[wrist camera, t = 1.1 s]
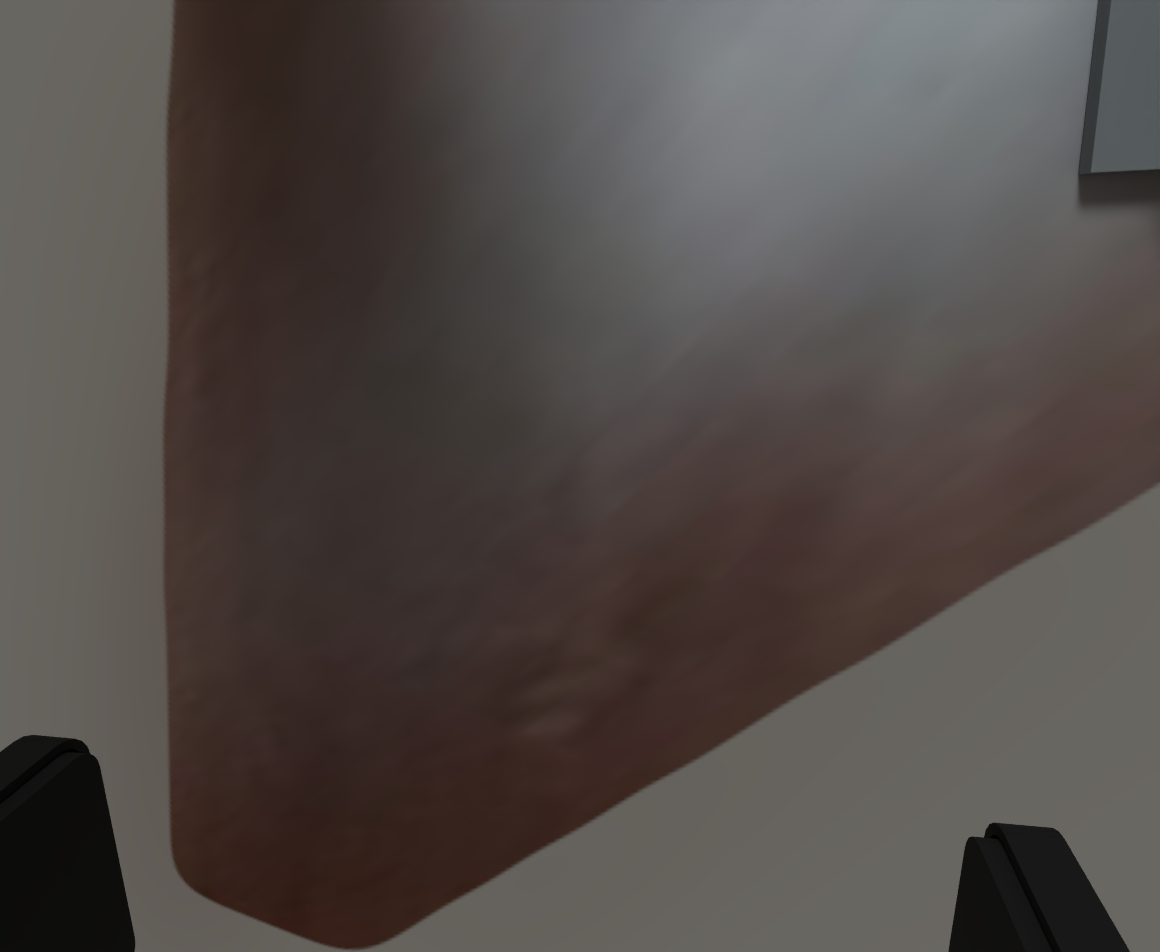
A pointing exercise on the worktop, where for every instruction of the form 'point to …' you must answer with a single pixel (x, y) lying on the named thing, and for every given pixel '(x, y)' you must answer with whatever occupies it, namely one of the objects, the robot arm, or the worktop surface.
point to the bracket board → (1123, 90)
